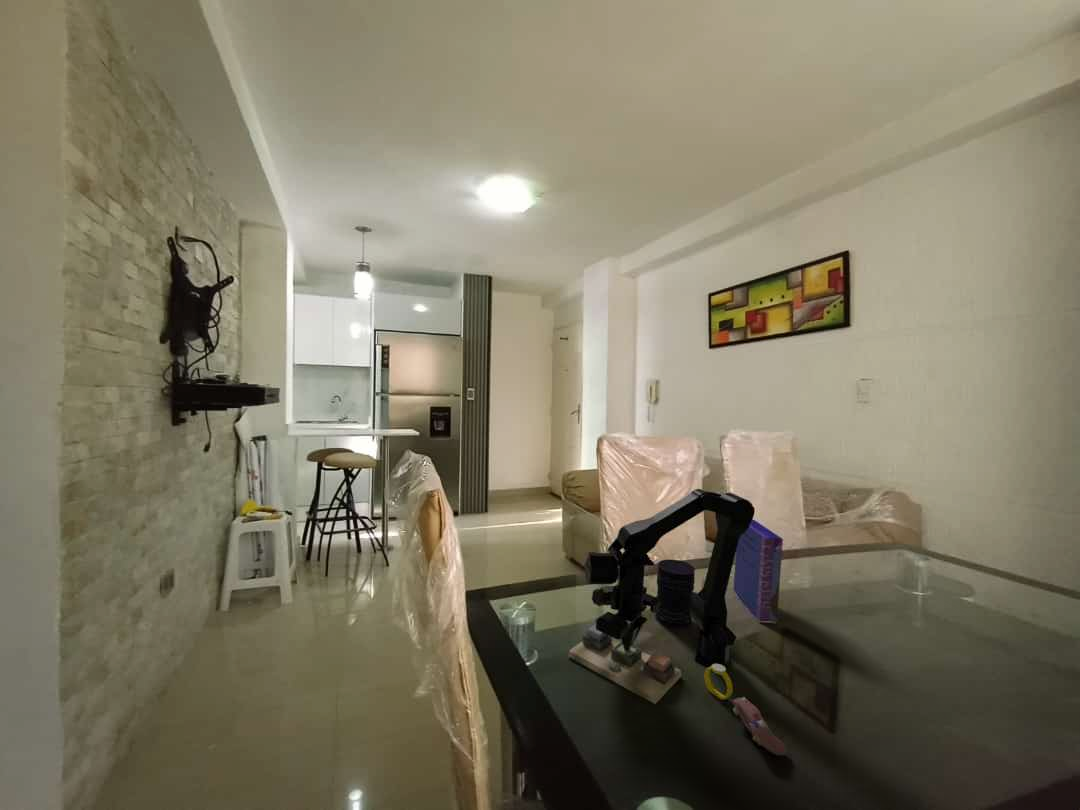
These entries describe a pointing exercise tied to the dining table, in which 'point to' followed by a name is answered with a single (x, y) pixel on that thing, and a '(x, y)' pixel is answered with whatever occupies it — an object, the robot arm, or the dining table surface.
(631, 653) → the sage button
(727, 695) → the gold ring
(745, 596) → the cereal box
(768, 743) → the pink shoe
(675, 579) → the storage jar
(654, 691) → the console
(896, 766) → the dining table surface
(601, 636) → the slate button
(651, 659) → the terracotta button
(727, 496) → the robot arm
